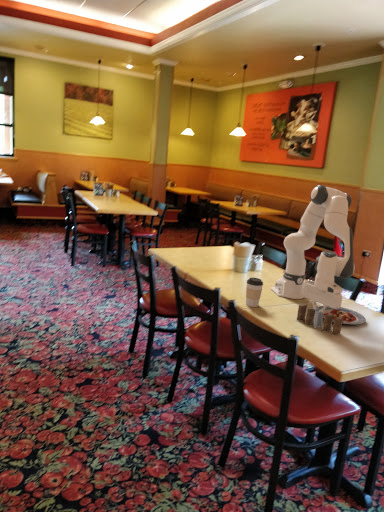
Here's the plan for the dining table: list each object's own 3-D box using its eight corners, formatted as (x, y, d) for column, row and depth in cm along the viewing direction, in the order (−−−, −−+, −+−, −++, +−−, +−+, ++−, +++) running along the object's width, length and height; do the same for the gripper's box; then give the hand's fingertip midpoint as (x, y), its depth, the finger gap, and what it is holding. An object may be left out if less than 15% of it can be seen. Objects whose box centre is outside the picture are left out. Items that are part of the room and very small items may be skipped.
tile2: (304, 323, 210) (307, 308, 208) (310, 321, 213) (313, 306, 211) (307, 324, 209) (310, 309, 207) (313, 322, 212) (315, 307, 210)
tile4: (322, 330, 203) (325, 315, 201) (327, 328, 206) (330, 313, 204) (325, 331, 202) (328, 316, 200) (330, 329, 205) (333, 314, 203)
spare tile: (313, 326, 206) (315, 311, 205) (319, 325, 210) (321, 310, 208) (316, 328, 205) (318, 312, 204) (321, 326, 208) (324, 311, 207)
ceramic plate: (325, 305, 241) (326, 301, 240) (371, 319, 225) (372, 314, 225) (306, 316, 221) (307, 311, 220) (355, 332, 206) (356, 326, 205)
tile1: (296, 320, 214) (299, 305, 212) (302, 318, 217) (304, 303, 215) (299, 321, 212) (301, 306, 211) (304, 319, 216) (307, 304, 214)
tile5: (331, 334, 199) (334, 318, 197) (337, 332, 202) (339, 316, 201) (334, 335, 198) (337, 319, 196) (340, 333, 201) (342, 318, 199)
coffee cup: (255, 301, 236) (258, 276, 232) (263, 307, 228) (266, 281, 224) (240, 302, 233) (244, 276, 229) (248, 308, 224) (252, 281, 221)
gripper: (302, 279, 208) (297, 305, 211) (338, 291, 193) (333, 319, 196) (309, 277, 212) (304, 303, 215) (345, 290, 197) (340, 317, 201)
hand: (318, 311), depth 206 cm, fingers open, 3 cm apart
